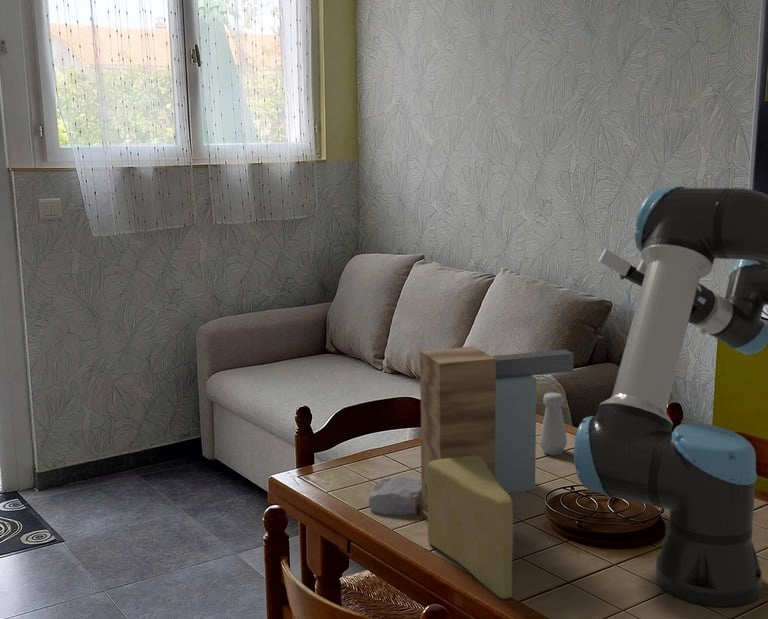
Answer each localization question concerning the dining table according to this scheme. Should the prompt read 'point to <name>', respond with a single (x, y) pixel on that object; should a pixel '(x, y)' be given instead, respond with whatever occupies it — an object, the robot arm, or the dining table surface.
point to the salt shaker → (553, 425)
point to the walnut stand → (456, 408)
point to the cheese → (472, 519)
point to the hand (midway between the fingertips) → (620, 259)
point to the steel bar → (533, 364)
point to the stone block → (397, 496)
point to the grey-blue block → (515, 433)
